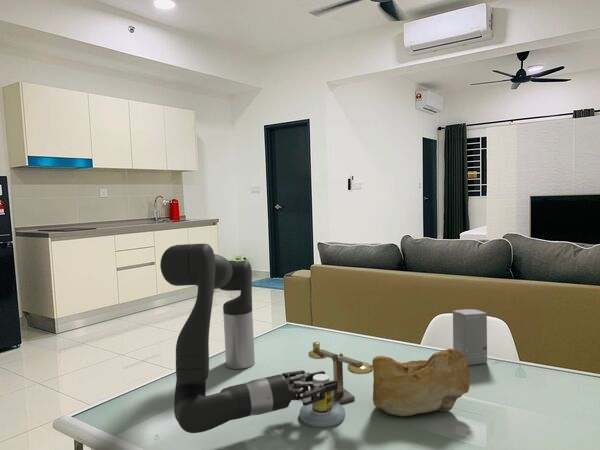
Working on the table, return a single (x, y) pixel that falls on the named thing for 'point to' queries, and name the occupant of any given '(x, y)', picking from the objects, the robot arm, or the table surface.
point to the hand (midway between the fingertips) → (330, 379)
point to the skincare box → (470, 335)
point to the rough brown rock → (420, 383)
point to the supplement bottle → (325, 404)
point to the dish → (322, 416)
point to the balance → (340, 371)
